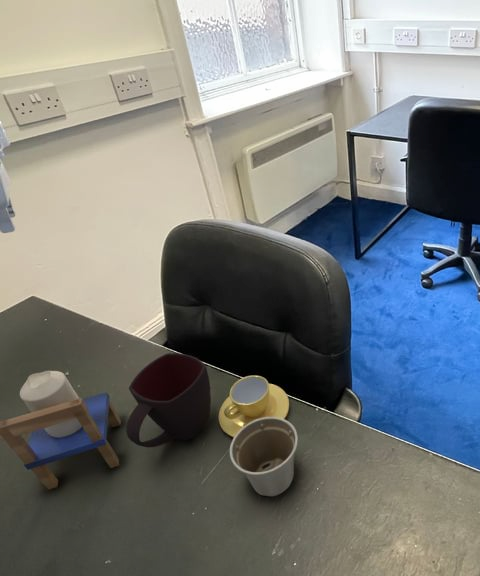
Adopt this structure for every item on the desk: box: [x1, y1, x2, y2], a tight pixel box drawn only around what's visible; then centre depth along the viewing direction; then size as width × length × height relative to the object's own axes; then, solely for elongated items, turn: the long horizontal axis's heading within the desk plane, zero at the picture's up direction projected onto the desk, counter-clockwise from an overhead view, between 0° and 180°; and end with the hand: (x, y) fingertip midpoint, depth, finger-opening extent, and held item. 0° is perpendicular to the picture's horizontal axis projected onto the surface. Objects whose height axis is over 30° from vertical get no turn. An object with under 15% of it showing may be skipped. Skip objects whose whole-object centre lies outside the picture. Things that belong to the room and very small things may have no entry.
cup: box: [218, 374, 290, 438], centre depth 75 cm, size 12×12×5 cm
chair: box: [0, 391, 122, 490], centre depth 67 cm, size 10×10×15 cm
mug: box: [125, 352, 212, 448], centre depth 70 cm, size 10×14×12 cm
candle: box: [19, 370, 82, 438], centre depth 65 cm, size 6×6×10 cm
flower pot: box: [229, 417, 299, 497], centre depth 65 cm, size 9×9×9 cm
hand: (9, 223), depth 74 cm, fingers open, 8 cm apart
